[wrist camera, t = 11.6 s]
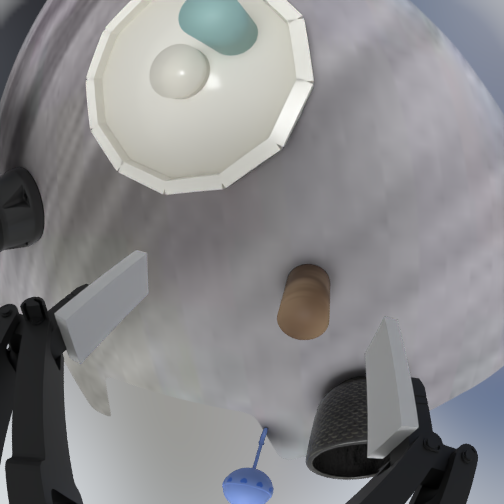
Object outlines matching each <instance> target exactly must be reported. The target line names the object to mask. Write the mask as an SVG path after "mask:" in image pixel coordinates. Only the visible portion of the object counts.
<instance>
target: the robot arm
mask: <svg viewBox="0 0 504 504" xmlns="http://www.w3.org/2000/svg"><path fill="white" fill-rule="evenodd" d="M43 225H44V216H43V207H42V202H41V198H40V194H39V191H38V188H37V186H36V184H35V182H34V180H33V178H32V176H31V175H30V174H29V173H28V171H26V170H25V169H24V168H21V167H17V168H14V169H11V170H8V171H7V172H5V173H4V174H3V175H2V176H0V252H1V251H3V250H8V249H15V248H21V247H28V246H30V245H32V244H34V243H35V242H37V241H38V240H39V239H40V237H41V235H42V232H43ZM148 293H149V291H148V268H147V253H145V252H142V251H139V250H135V251H134V252H132V253H131V254H130V255H128V256H127V257H126V258H124V259H123V260H122V261H120V262H119V263H118V264H116V265H115V266H114V267H112V268H111V269H110V270H108V271H107V272H106V273H104V274H103V275H102V276H100V277H99V278H98V279H97V280H95V281H94V282H93V283H91V284H90V285H88V284H85V285H83V286H80V287H78V288H76V289H75V290H74V291H72V292H71V294H69V295H67V296H66V297H65V298H64V299H62V300H61V301H60V302H59V303H57V304H56V305H55V306H54V307H52V308H51V309H50V310H49V311H47V308H46V305H45V301H44V300H43V299H42V298H40V297H31V298H28V299H26V300H25V301H24V302H23V303H22V304H21V306H20V307H21V310H22V313H23V315H22V314H19V312H18V309H17V307H16V306H15V305H13V304H7V305H4V306H2V307H1V308H0V463H1V457H2V452H3V447H4V442H5V437H6V433H7V429H8V425H9V421H10V417H11V414H12V410H13V415H12V457H11V458H9V459H7V461H6V464H5V471H6V482H7V491H8V499H9V504H83V502H82V498H81V495H80V493H79V491H78V489H77V487H76V485H75V483H74V479H73V474H72V469H71V463H70V456H69V449H68V441H67V432H66V422H65V407H64V377H63V376H64V375H63V374H64V357H63V354H62V353H63V352H64V351H65V350H67V352H68V355H69V358H71V359H72V360H74V361H76V362H77V363H79V364H82V362H83V361H84V360H85V359H86V358H87V357H88V356H89V355H90V354H91V353H92V352H93V350H94V349H95V348H96V347H97V346H98V345H99V344H100V343H101V342H102V341H103V340H104V339H105V338H106V337H107V336H108V335H109V333H110V332H111V331H112V330H113V329H114V328H115V327H116V326H117V325H118V324H119V323H120V322H121V321H122V320H123V319H124V318H125V317H126V316H127V315H128V314H129V313H130V312H131V311H132V310H133V309H134V308H135V307H136V306H137V304H138V303H139V302H140V301H141V300H142V299H143V298H144V297H145V296H146V295H147V294H148ZM8 344H9V348H8V349H6V348H7V345H8ZM365 362H366V379H367V406H368V449H367V458H380V459H383V458H384V457H386V456H387V455H388V454H389V453H390V461H389V462H387V463H386V464H385V465H383V466H382V467H381V468H379V469H378V470H379V472H378V473H377V474H376V475H375V476H374V477H373V478H372V479H371V480H370V481H369V482H368V483H367V484H366V485H365V486H364V487H363V488H362V489H361V490H360V491H359V492H358V493H357V494H356V495H354V496H353V497H352V498H351V499H350V500H349V501H348V502H347V503H346V504H405V503H406V501H407V500H408V499H409V498H410V497H411V495H412V494H413V493H414V494H413V496H412V498H411V500H410V502H409V504H466V502H467V499H468V496H469V493H470V489H471V486H472V482H473V478H474V474H475V470H476V466H477V461H478V455H477V451H476V450H475V448H474V447H473V446H471V445H469V444H463V445H461V446H460V447H459V448H457V449H455V448H452V447H449V446H445V445H443V443H442V440H441V438H440V437H439V436H438V435H437V434H436V433H434V432H433V431H432V424H431V418H430V412H429V407H428V405H427V404H428V402H427V398H426V392H425V387H424V385H423V384H422V382H421V381H420V379H419V378H412V377H411V376H410V371H409V366H408V361H407V357H406V352H405V348H404V344H403V340H402V336H401V332H400V328H399V324H398V320H397V319H394V318H390V317H386V316H384V318H383V320H382V322H381V324H380V326H379V328H378V330H377V332H376V334H375V336H374V338H373V340H372V342H371V344H370V345H369V347H368V349H367V351H366V353H365ZM414 491H415V492H414Z"/></svg>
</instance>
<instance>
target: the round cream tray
mask: <svg viewBox="0 0 504 504" xmlns="http://www.w3.org/2000/svg"><path fill="white" fill-rule="evenodd" d="M185 1H186V0H131V1H130V2H129V3H128V4H127V5H126V6H125V7H124V8H123V9H122V10H121V11H120V12H119V13H118V14H117V15H116V16H115V18H114V19H113V20H112V21H111V22H110V23H109V24H108V25H107V26H106V28H105V29H106V30H107V31H103V33H102V35H101V38H100V40H99V43H98V45H97V48H96V51H95V54H94V56H93V59H92V62H91V65H90V68H89V71H88V74H87V77H86V78H87V79H88V80H87V81H86V92H87V104H88V114H89V123H90V129H92V131H91V132H92V134H93V135H94V137H95V138H96V140H97V142H98V143H99V145H100V146H101V148H102V149H103V151H104V152H105V154H106V156H107V157H108V159H109V160H110V162H111V163H112V165H113V166H114V168H115V169H116V171H118V170H119V173H120V174H123V175H125V176H127V177H129V178H131V179H133V180H135V181H137V182H139V183H141V184H143V185H145V186H147V187H149V188H151V189H153V190H155V191H157V192H159V193H161V194H165V193H166V195H169V194H178V193H188V192H198V191H209V190H221V189H224V188H227V187H228V186H230V185H231V184H233V183H234V182H236V181H237V180H238V179H240V178H241V177H243V176H244V175H245V174H247V173H248V172H250V171H251V170H252V169H254V168H255V167H257V166H259V165H260V164H261V163H263V162H264V161H265V160H267V159H268V158H270V157H271V156H273V155H274V154H276V153H277V152H279V151H280V150H282V149H283V148H282V147H284V146H285V145H286V143H287V141H288V139H289V137H290V135H291V133H292V131H293V128H294V127H295V125H296V123H297V121H298V120H299V118H300V116H301V113H302V111H303V108H304V106H305V103H306V101H307V99H308V97H309V95H310V93H311V91H312V89H313V87H314V86H313V84H311V83H314V78H313V71H312V64H311V57H310V50H309V44H308V38H307V32H306V26H305V21H304V19H303V16H302V15H301V14H300V13H299V12H298V11H297V10H296V9H295V8H294V7H293V6H292V5H291V4H290V3H289V2H288V1H287V0H237V1H238V2H239V3H240V4H241V6H242V7H243V8H244V9H245V11H246V12H247V13H248V14H249V16H250V17H251V18H252V20H253V21H254V22H255V24H256V26H257V29H258V36H257V39H256V41H255V43H254V45H253V46H252V47H251V48H250V49H249V50H247V51H246V52H244V53H241V54H239V55H233V56H228V55H223V54H220V53H219V52H217V51H215V50H214V49H212V48H210V47H209V46H207V45H205V44H204V43H202V42H200V41H199V40H197V39H195V38H193V37H192V36H190V35H188V34H187V33H185V32H184V31H183V30H182V29H181V27H180V25H179V20H178V17H179V12H180V9H181V7H182V5H183V4H184V3H185ZM281 146H282V147H281Z"/></svg>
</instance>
